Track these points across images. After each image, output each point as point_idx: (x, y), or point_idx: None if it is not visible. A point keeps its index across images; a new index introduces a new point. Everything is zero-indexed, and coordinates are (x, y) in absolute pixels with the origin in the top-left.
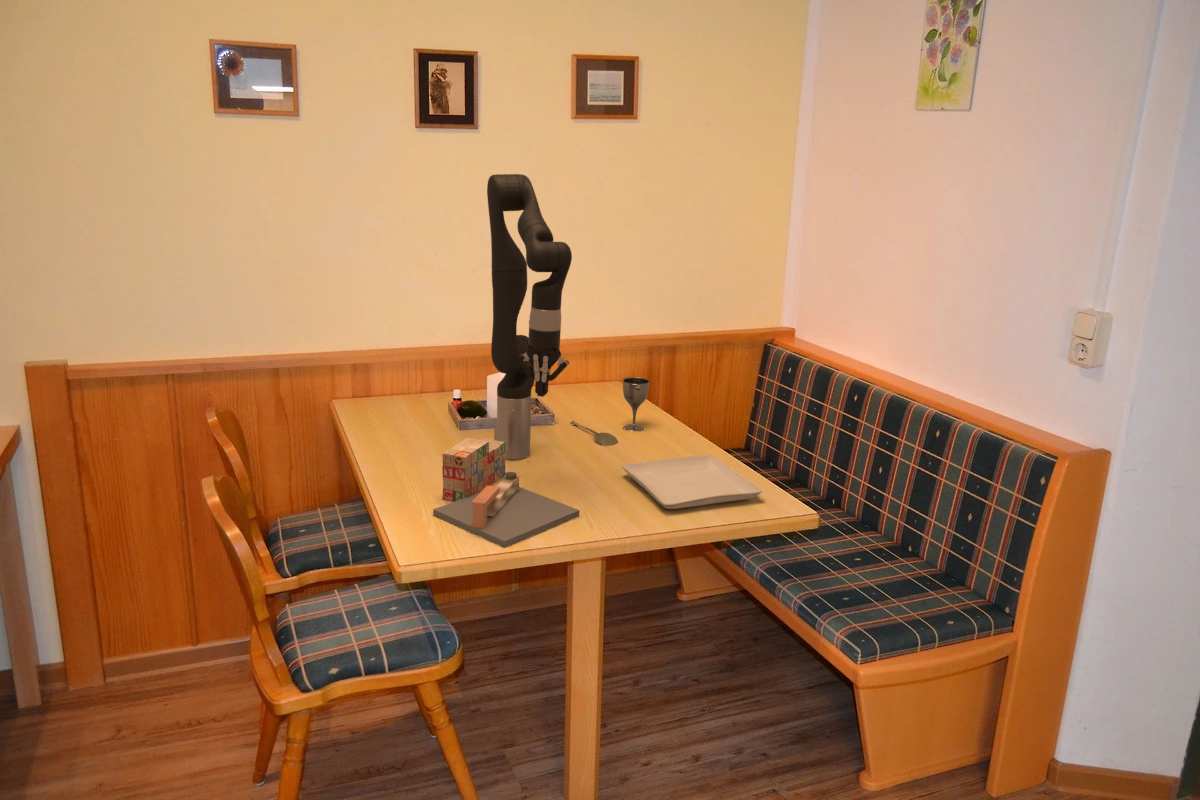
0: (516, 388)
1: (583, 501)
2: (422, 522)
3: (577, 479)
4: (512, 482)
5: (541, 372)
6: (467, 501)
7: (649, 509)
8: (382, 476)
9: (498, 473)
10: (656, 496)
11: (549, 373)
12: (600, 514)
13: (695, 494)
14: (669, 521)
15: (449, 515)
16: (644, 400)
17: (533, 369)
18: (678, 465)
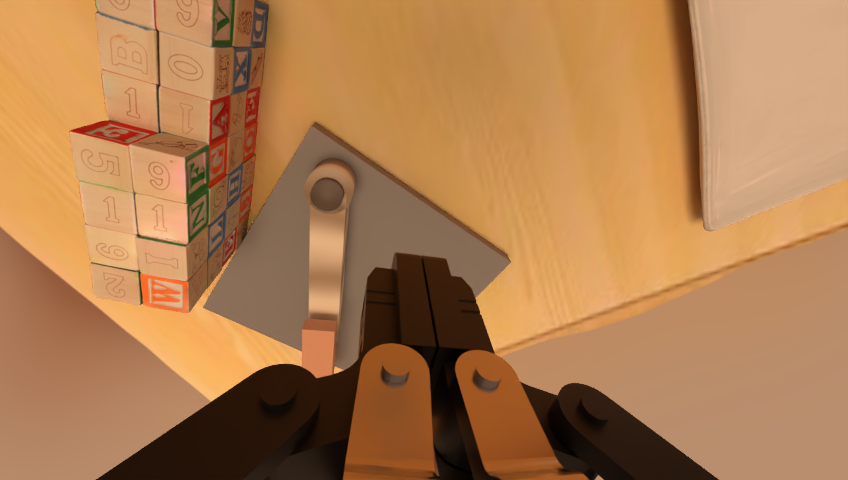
0: None
1: (519, 177)
2: (207, 327)
3: (509, 6)
4: (342, 225)
5: (415, 453)
6: (255, 261)
7: (666, 196)
8: None
9: (256, 61)
10: (705, 193)
11: (539, 459)
12: (552, 239)
13: (822, 95)
14: (687, 247)
15: (251, 326)
16: None
17: (258, 476)
18: None
